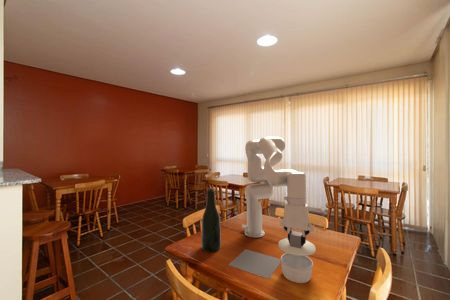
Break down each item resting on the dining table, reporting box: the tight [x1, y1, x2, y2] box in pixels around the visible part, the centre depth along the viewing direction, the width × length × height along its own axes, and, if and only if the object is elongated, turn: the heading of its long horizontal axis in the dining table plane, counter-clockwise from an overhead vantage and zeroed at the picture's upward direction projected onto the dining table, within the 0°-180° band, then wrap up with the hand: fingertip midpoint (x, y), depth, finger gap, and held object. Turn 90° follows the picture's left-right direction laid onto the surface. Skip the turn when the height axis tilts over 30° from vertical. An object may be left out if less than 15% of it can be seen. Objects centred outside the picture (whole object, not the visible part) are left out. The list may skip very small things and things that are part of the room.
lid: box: [278, 230, 317, 257], centre depth 92 cm, size 15×15×6 cm
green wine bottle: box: [201, 187, 222, 253], centre depth 118 cm, size 10×10×33 cm
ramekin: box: [280, 252, 314, 284], centre depth 92 cm, size 13×13×7 cm
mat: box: [228, 249, 281, 280], centre depth 103 cm, size 20×18×1 cm
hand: (296, 243), depth 92 cm, fingers closed on lid, 4 cm apart
